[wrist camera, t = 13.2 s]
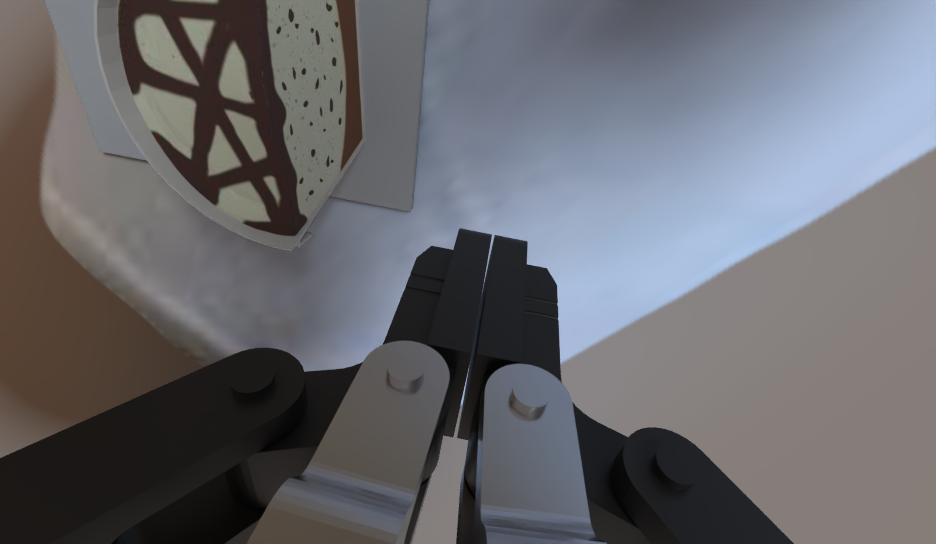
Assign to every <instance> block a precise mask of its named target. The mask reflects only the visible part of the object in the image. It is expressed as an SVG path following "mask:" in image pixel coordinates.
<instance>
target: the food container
mask: <svg viewBox="0 0 936 544" xmlns="http://www.w3.org/2000/svg"><path fill="white" fill-rule="evenodd" d="M94 38H95V44H96V50H97V56H98V62H99V66H100V69H101V72H102V75H103V79H104V82H105V85H106V88H107V91H108V94H109V96H110V98H111V100H112V103H113V105H114V107H115V109H116V112H117V114H118V116H119V118H120V120H121V122H122V123H123V125H124V127H125V128H126V130H127V132H128V134H129V135H130V137H131V139H132V140H133V142H134V143H135V145H136V146H137V148H138V149H139V150H140V152H141V153H142V154H143V156H144V157H145V158H146V160H147V161H148V162H149V164H150V165H151V166H152V167H153V168H154V170H155V171H156V172H157V173H158V174H159V175H160V176H161V177H162V178H163V179H164V181H165V182H166V183H167V184H168V185H169V186H170V187H171V188H172V189H173V190H175V191H176V192H177V193H178V194H179V195H180V196H181V197H182V198H183V199H184V200H186V201H187V202H188V203H189V204H190V205H192V206H193V207H194V208H196V209H197V210H198V211H200V212H201V213H202V214H204V215H205V216H206V217H208V218H209V219H211V220H213V221H214V222H216V223H218V224H219V225H221V226H223V227H224V228H226V229H228V230H230V231H232V232H234V233H236V234H238V235H240V236H242V237H245V238H247V239H249V240H251V241H254V242H257V243H260V244H263V245H266V246H269V247H272V248H277V249H281V250H286V251H292V250H293V249H294V248H300V247H301V246H302V245H303V244H305V243H306V242H307V241H308V240H309V239H310V238H312V237H313V233H310V232H306V231H307V229H308V228H309V226H310V225H311V223H312V222H313V220H314V219H315V217H316V216H317V214H318V213H319V211H320V210H321V208H322V207H323V205H324V204H325V202H326V201H327V199H328V198H329V196H330V195H331V193H332V192H333V190H334V189H335V187H336V186H337V184H338V183H339V181H340V180H341V178H342V177H343V175H344V174H345V172H346V171H347V169H348V167H349V166H350V164H351V163H352V161H353V160H354V158H355V157H356V155H357V154H358V152H359V151H360V149H361V148H362V146H363V145H364V143H365V142H366V121H365V102H364V83H363V63H362V44H361V25H360V5H359V0H95V1H94Z"/></svg>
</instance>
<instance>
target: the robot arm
mask: <svg viewBox="0 0 936 544" xmlns="http://www.w3.org/2000/svg"><path fill="white" fill-rule="evenodd" d="M491 237H492V235H491V234H486V233H481V232H476V231H471V230H466V229H461V228H460V229H459V232H458V235H457V239H456V242H455V246H454V250H450V249H445V248H440V247H435V246H431V247H430V248H428V249H427V250H426V251H425V252H423V253H422V254H421V255H419V256H418V257H417V259H416V261H415V264H414V266H413V269H412V271H411V275H410V277H409V279H408V282H407V284H406V288H405V290H404V292H403V295H402V297H401V300H400V302H399V305H398V307H397V310H396V313H395V315H394V318H393V320H392V323H391V325H390V328H389V331H388V333H387V336H386V338H385V341H384V343H383V345H382V346H380V347H378V348H376V349H375V350H373V351H372V352H371V353H370V354H369V355H368V356H367V357H366V358H365V360H364V361H363V362H362V363H360V364H357V365H354V366H352V367H348V368H343V369H336V370H322V371H308V372H304V370H303V367H302V365H301V364H300V362H299V361H298V360H297V359H296V358H295V357H294V356H292V355H291V354H289V353H287V352H285V351H282V350H278V349H273V348H255V349H249V350H245V351H241V352H239V353H236V354H233V355H231V356H229V357H226V358H224V359H222V360H220V361H218V362H215V363H213V364H211V365H209V366H206V367H204V368H202V369H200V370H198V371H195V372H193V373H191V374H189V375H186V376H184V377H182V378H179V379H177V380H175V381H173V382H170V383H168V384H166V385H164V386H162V387H159V388H157V389H155V390H152V391H150V392H148V393H146V394H143V395H141V396H139V397H137V398H134V399H132V400H130V401H128V402H125V403H123V404H121V405H119V406H116V407H114V408H112V409H110V410H108V411H105V412H103V413H101V414H98V415H97V416H94V417H92V418H90V419H87V420H85V421H83V422H81V423H78V424H76V425H74V426H72V427H69V428H67V429H65V430H63V431H61V432H58V433H56V434H54V435H51V436H49V437H47V438H45V439H42V440H40V441H38V442H36V443H33V444H31V445H29V446H27V447H25V448H22V449H20V450H18V451H15V452H13V453H11V454H9V455H6V456H5V457H2V458H0V544H412V542H413V539H414V535H415V532H416V528H417V525H418V521H419V517H420V514H421V511H422V507H423V504H424V500H425V497H426V493H427V490H428V486H429V483H430V479H431V475H432V473H433V471H434V470H435V468H436V466H437V463H438V459H439V454H440V449H441V444H442V439H443V435H444V436H449V437H453V436H454V432H455V427H456V422H457V418H458V413H459V409H460V404H461V400H462V395H463V391H464V386H465V382H466V377H467V373H468V377H467V383H466V389H465V395H464V400H463V406H462V413H461V418H460V425H459V430H458V436H457V438H461V439H465V440H468V447H467V454H466V461H465V466H464V469H463V473H462V477H461V483H460V496H459V510H458V524H457V538H456V544H794V543H793V542H792V541H791V540H790V539H789V538H788V537H787V536H786V535H785V534H784V533H783V532H782V531H781V530H780V529H779V528H777V526H776V525H775V524H774V523H773V522H772V521H771V520H770V519H769V518H768V517H767V516H766V515H765V514H764V513H763V512H762V511H761V510H760V509H759V508H758V507H757V506H756V505H755V504H754V503H753V502H752V501H751V500H750V499H749V498H748V497H747V496H746V495H745V494H744V493H743V492H742V491H741V490H740V489H739V488H738V487H737V486H736V485H735V484H734V483H733V482H732V481H731V480H730V479H729V478H728V477H727V476H726V475H725V474H724V473H723V472H722V471H721V470H720V469H719V468H718V467H717V466H716V465H715V464H714V463H713V462H712V461H711V460H710V459H709V458H708V457H707V456H706V455H705V454H704V453H703V452H702V451H701V450H700V449H699V448H698V447H697V446H696V445H694V444H693V443H691V442H690V441H689V440H688V439H686V438H684V437H682V436H680V435H679V434H677V433H674V432H672V431H669V430H666V429H662V428H643V429H640V430H637V431H636V432H634V433H633V434H631V435H630V436H629V438H628V437H626V436H624V435H622V434H620V433H618V432H616V431H614V430H612V429H610V428H608V427H606V426H604V425H602V424H600V423H598V422H596V421H595V420H593V419H591V418H590V417H588V416H587V415H586V414H584V413H583V412H582V411H581V410H579V409H578V408H577V407H576V406H575V404H574V403H573V402H572V400H571V397H570V395H569V392H568V391H567V389H566V388H565V386H564V385H563V384H562V381H561V373H560V372H561V371H560V347H559V323H558V306H557V303H558V299H557V284H556V283H555V281H554V279H553V278H552V276H551V274H550V273H549V271H548V270H547V268H542V267H537V266H532V265H527V241H523V240H518V239H512V238H507V237H502V236H497V235H495V237H494V241H493V245H492V250H491V255H490V259H489V264H488V268H487V273H486V278H485V272H486V266H487V260H488V255H489V249H490V243H491ZM484 278H485V282H484ZM483 284H484V287H483ZM482 290H483V292H482ZM481 296H482V297H481ZM469 364H470V365H469ZM468 368H469V371H468Z"/></svg>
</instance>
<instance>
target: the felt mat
mask: <svg viewBox="0 0 936 544" xmlns="http://www.w3.org/2000/svg"><path fill="white" fill-rule="evenodd" d="M94 1H95V0H45V3H46V6H47V8H48V11H49V14H50V17H51V20H52V22H53V25H54V28H55V30H56V33H57V36H58V39H59V41H60V44H61V47H62V50H63V52H64V55H65V58H66V61H67V63H68V66H69V69H70V72H71V74H72V77H73V80H74V83H75V85H76V88H77V91H78V93H79V96H80V99H81V102H82V104H83V107H84V110H85V113H86V115H87V118H88V121H89V124H90V126H91V129H92V132H93V135H94V137H95V140H96V143H97V145H98V148H99V151H100V152H105V153H111V154H116V155H121V156H126V157H131V158H136V159H141V160H146V158H145V157H144V156H143V154H142V153H141V152H140V150H139V149H138V148H137V146H136V145H135V143H134V142H133V140H132V139H131V137H130V135H129V134H128V132H127V130H126V128H125V127H124V125H123V123H122V122H121V120H120V118H119V116H118V114H117V112H116V109H115V107H114V105H113V103H112V100H111V98H110V96H109V94H108V91H107V88H106V85H105V82H104V79H103V75H102V72H101V69H100V66H99V62H98V56H97V50H96V44H95V38H94ZM359 5H360V25H361V44H362V63H363V83H364V102H365V121H366V142H365V143H364V145H363V146H362V148H361V149H360V151H359V152H358V154H357V155H356V157H355V158H354V160H353V161H352V163H351V164H350V166H349V167H348V169H347V171H346V172H345V174H344V175H343V177H342V178H341V180H340V181H339V183H338V184H337V186H336V187H335V189H334V190H333V192H332V193H331V195H330V196H331V197H336V198H341V199H346V200H352V201H357V202H362V203H367V204H372V205H377V206H382V207H387V208H393V209H398V210H403V211H408V212H411V210H412V208H413V199H414V186H415V174H416V161H417V149H418V136H419V124H420V111H421V99H422V86H423V73H424V61H425V48H426V36H427V23H428V11H429V0H359ZM146 161H147V160H146Z"/></svg>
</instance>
